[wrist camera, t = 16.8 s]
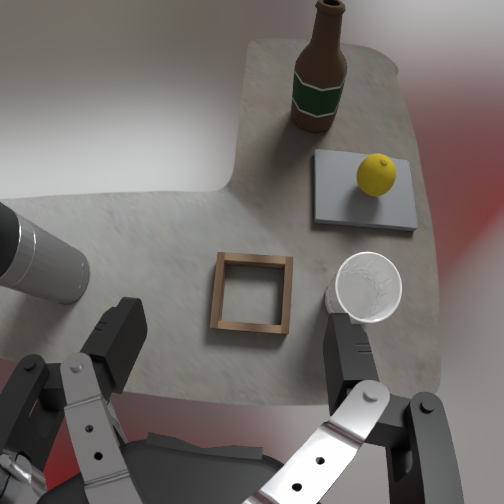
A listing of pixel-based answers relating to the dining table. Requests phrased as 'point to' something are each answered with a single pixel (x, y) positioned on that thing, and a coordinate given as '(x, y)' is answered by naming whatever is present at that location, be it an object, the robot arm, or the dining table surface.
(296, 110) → the beer bottle
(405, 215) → the gray board
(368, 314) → the white cup
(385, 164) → the lemon
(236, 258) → the walnut collar
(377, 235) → the dining table surface
